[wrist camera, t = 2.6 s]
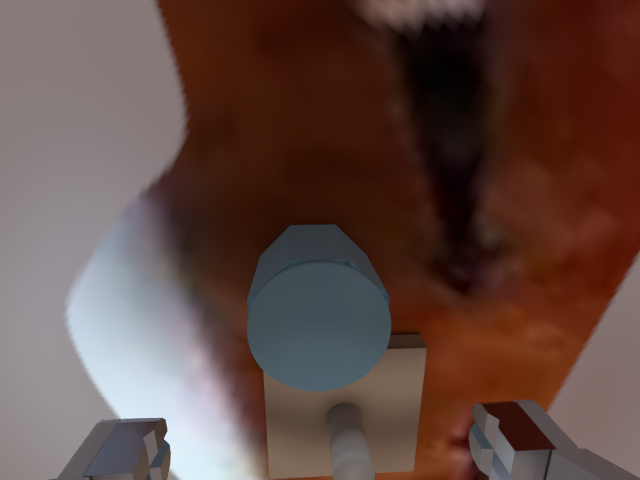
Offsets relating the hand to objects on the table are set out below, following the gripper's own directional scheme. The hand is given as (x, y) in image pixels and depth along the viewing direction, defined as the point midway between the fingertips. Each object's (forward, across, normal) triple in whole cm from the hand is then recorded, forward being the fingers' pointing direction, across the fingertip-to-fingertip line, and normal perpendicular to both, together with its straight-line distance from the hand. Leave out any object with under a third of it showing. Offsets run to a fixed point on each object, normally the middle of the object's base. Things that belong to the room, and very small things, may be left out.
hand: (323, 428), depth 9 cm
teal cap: (+8, 0, -1) cm, 8 cm away
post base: (+8, -2, +6) cm, 11 cm away
